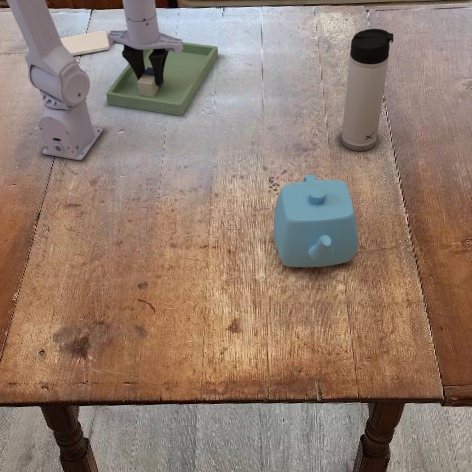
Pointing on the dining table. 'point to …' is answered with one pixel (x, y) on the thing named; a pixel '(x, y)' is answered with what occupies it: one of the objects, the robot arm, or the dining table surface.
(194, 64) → the tray
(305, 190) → the teapot
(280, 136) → the dining table surface
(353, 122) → the travel mug
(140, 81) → the eraser
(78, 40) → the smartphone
